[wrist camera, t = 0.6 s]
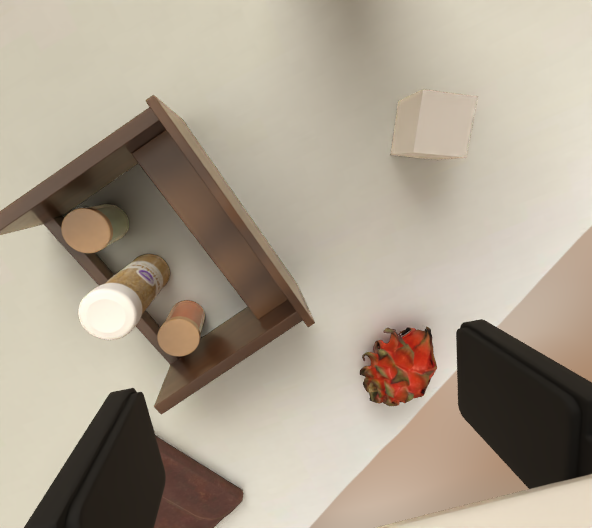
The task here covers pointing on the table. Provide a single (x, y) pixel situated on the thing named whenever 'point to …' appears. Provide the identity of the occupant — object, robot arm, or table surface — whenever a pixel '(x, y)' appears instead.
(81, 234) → the sage jar
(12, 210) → the spice rack
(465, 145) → the light grey cube
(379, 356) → the dragon fruit
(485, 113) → the table surface
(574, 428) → the robot arm
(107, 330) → the sprinkles bottle
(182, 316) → the terracotta jar
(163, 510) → the notebook
